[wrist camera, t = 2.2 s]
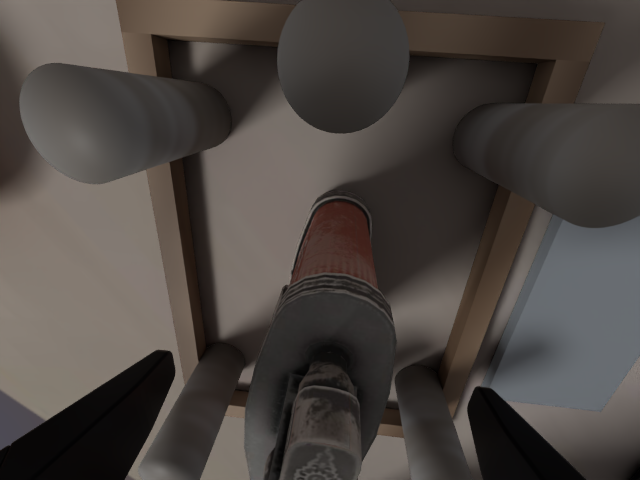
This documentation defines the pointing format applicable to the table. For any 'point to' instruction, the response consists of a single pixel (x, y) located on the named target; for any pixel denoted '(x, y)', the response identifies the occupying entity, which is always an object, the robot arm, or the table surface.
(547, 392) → the mat
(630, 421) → the table surface
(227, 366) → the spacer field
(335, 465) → the lighter
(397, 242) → the table surface
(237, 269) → the table surface
